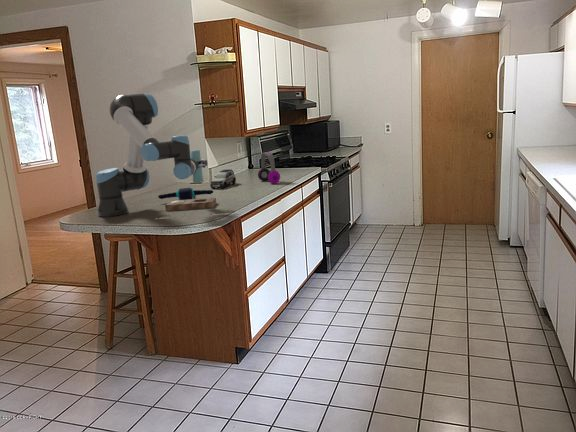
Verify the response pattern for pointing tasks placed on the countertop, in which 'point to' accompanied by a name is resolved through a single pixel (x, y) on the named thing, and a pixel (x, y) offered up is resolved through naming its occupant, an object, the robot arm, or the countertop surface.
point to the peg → (198, 174)
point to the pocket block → (190, 204)
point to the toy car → (223, 179)
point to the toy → (185, 193)
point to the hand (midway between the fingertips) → (198, 161)
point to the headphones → (265, 173)
